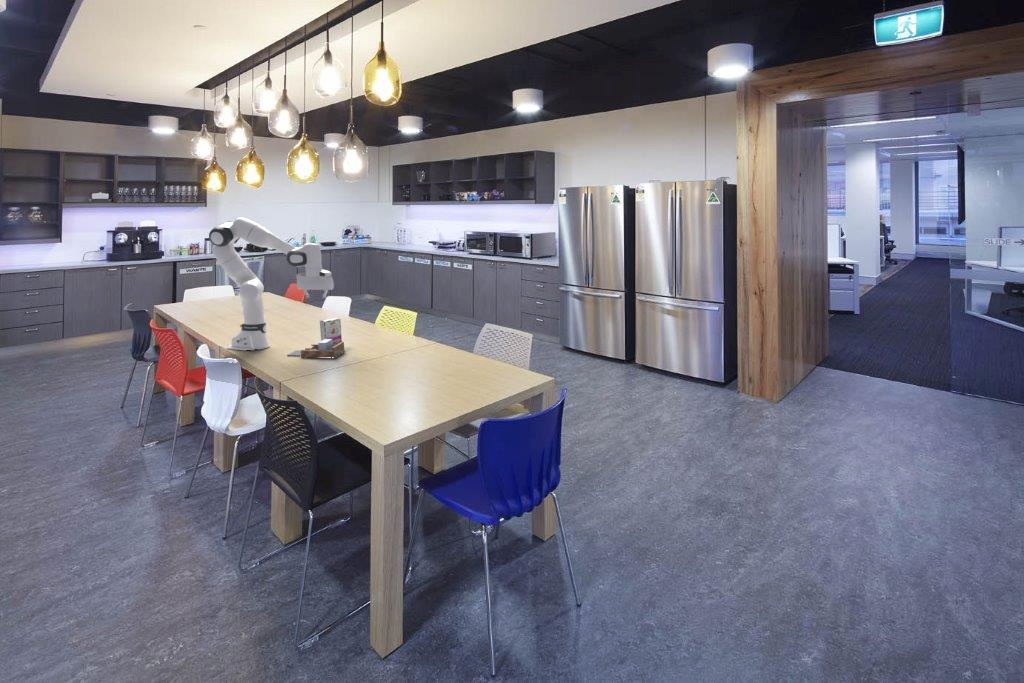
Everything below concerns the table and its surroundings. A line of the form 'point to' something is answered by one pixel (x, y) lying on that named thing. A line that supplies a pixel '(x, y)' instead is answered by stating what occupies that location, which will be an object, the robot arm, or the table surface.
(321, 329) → the candy bar box
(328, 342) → the blue-grey box
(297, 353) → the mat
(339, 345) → the tray
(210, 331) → the table surface
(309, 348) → the offcut short
